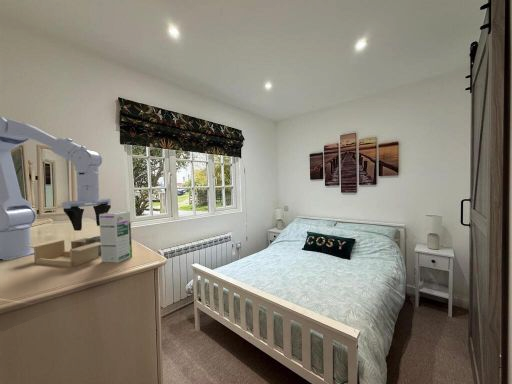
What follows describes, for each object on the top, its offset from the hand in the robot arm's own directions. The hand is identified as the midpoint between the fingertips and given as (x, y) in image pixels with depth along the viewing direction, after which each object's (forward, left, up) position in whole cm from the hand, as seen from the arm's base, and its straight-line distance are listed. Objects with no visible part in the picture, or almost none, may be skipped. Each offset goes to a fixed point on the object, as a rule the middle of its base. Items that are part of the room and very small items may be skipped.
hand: (89, 227), depth 72 cm
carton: (0, -7, -9) cm, 11 cm away
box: (0, 0, -9) cm, 9 cm away
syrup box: (+14, -3, -9) cm, 17 cm away
